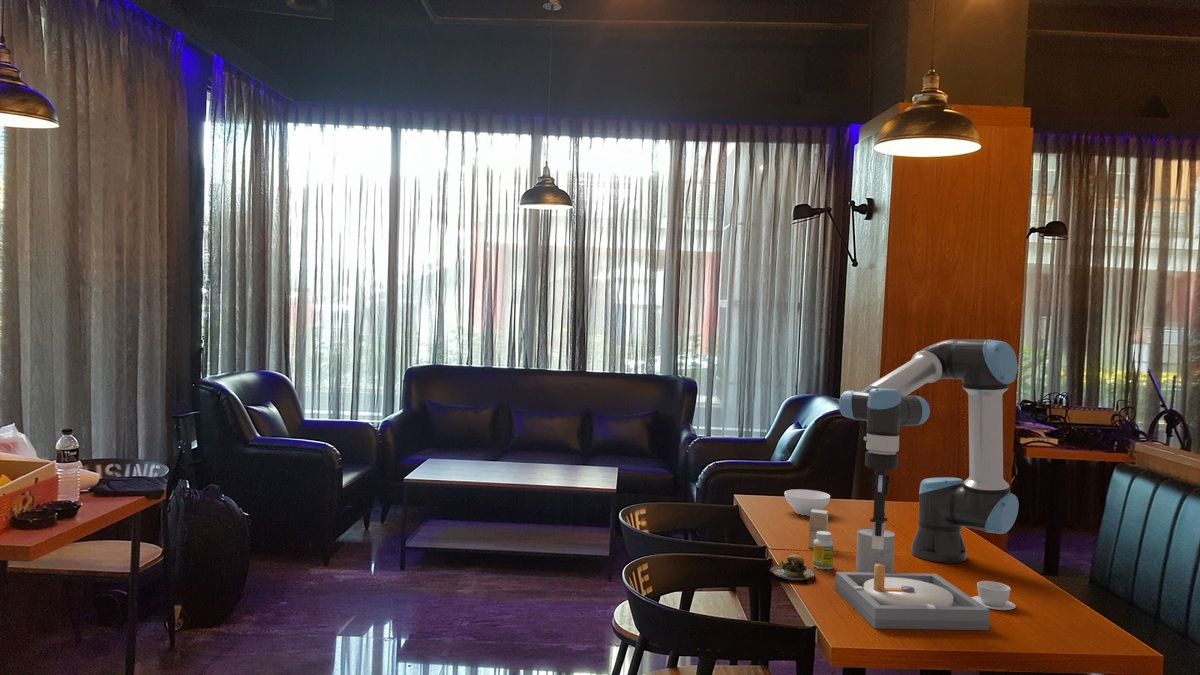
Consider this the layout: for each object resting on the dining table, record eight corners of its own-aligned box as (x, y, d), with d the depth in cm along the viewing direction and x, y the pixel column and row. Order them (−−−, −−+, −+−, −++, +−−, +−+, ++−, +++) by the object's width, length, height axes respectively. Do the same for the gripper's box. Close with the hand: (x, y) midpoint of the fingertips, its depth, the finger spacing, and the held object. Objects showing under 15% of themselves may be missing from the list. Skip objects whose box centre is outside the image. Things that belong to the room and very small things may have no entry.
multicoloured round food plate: (761, 573, 217) (762, 545, 217) (797, 569, 222) (797, 542, 222) (788, 587, 206) (789, 557, 206) (825, 582, 211) (826, 554, 211)
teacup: (1013, 615, 190) (1014, 595, 190) (967, 605, 196) (968, 586, 196) (1017, 603, 199) (1018, 584, 199) (973, 595, 204) (974, 576, 204)
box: (807, 547, 243) (809, 511, 242) (809, 544, 247) (811, 508, 246) (825, 550, 241) (827, 513, 240) (827, 546, 245) (828, 510, 244)
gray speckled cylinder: (892, 575, 218) (894, 530, 218) (893, 585, 209) (895, 538, 209) (855, 570, 221) (857, 526, 221) (854, 580, 212) (856, 534, 212)
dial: (929, 585, 202) (930, 554, 202) (969, 614, 182) (970, 579, 182) (851, 584, 201) (852, 552, 201) (882, 613, 181) (884, 578, 181)
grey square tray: (935, 591, 205) (935, 572, 205) (988, 630, 179) (989, 608, 179) (835, 589, 204) (835, 570, 204) (874, 628, 178) (875, 606, 178)
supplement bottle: (821, 563, 227) (822, 529, 227) (836, 568, 223) (838, 533, 222) (808, 565, 224) (809, 531, 224) (823, 571, 220) (824, 536, 219)
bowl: (785, 517, 281) (785, 497, 281) (782, 507, 297) (783, 488, 297) (832, 520, 279) (832, 500, 279) (826, 510, 295) (827, 491, 294)
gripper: (866, 447, 203) (862, 540, 203) (864, 453, 191) (860, 552, 191) (898, 449, 200) (894, 544, 201) (898, 456, 188) (893, 557, 188)
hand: (877, 548), depth 196 cm, fingers closed
